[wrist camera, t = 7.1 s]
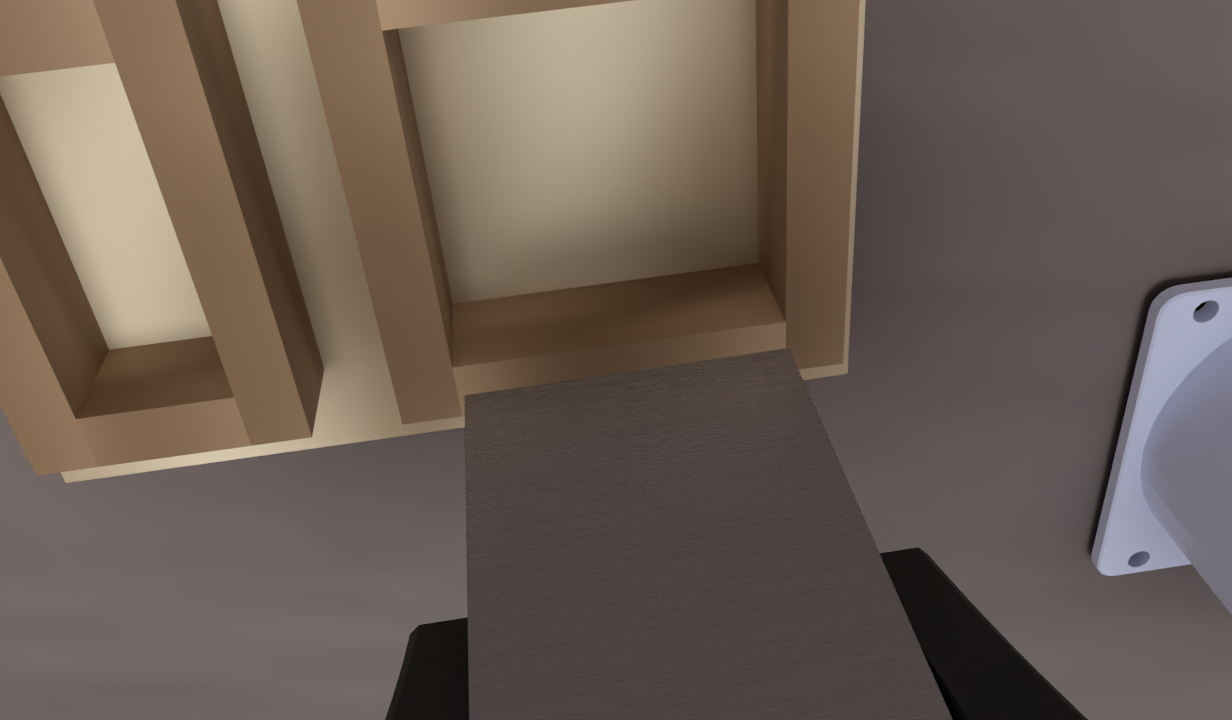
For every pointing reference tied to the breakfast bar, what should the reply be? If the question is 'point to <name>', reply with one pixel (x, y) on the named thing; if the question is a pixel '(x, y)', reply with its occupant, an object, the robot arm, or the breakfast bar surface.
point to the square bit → (676, 555)
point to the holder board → (404, 210)
